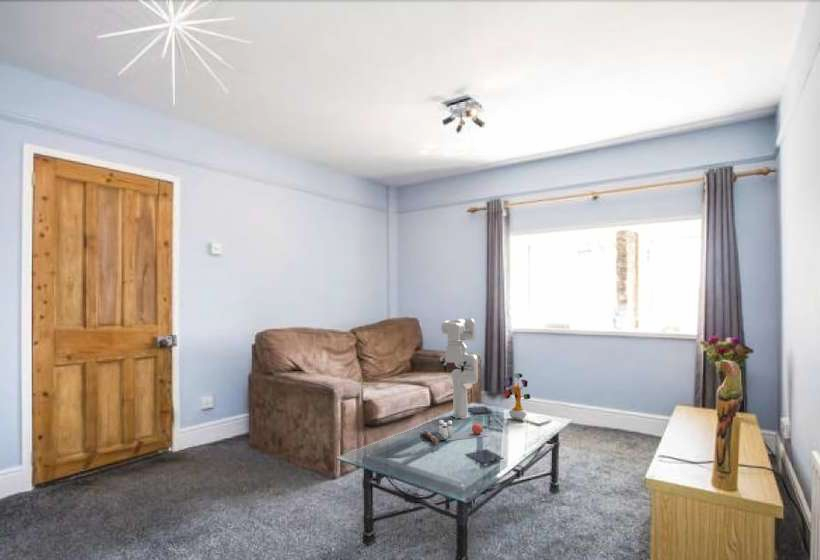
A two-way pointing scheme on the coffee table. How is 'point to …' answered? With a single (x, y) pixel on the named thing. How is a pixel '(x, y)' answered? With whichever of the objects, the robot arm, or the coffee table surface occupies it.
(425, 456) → the coffee table surface
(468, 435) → the lane
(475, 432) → the ball
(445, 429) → the pin
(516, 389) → the decorative sculpture
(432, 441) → the back wall
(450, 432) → the pin front
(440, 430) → the pin
